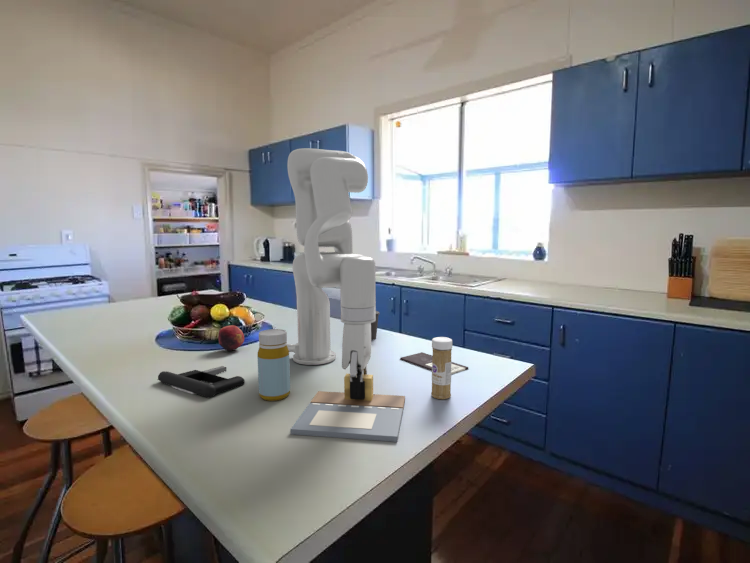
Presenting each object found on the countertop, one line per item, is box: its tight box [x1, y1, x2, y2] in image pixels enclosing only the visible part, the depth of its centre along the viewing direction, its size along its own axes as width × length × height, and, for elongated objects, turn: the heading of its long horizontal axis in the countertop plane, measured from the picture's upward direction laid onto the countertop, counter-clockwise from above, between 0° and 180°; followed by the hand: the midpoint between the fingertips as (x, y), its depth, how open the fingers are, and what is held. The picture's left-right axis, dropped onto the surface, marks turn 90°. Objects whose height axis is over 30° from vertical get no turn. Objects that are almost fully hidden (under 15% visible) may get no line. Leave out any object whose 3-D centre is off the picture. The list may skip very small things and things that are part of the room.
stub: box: [309, 373, 406, 409], centre depth 90 cm, size 20×6×6 cm, turn 81°
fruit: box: [218, 324, 245, 352], centre depth 131 cm, size 8×8×8 cm
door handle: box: [157, 365, 246, 398], centre depth 104 cm, size 3×20×16 cm
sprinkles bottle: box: [430, 336, 453, 400], centre depth 93 cm, size 5×5×14 cm
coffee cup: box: [371, 310, 381, 341], centre depth 145 cm, size 8×8×10 cm
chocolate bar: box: [400, 352, 469, 375], centre depth 117 cm, size 9×1×18 cm
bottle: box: [257, 328, 291, 402], centre depth 94 cm, size 7×7×15 cm
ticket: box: [289, 402, 404, 443], centre depth 81 cm, size 20×12×1 cm, turn 81°
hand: (358, 395), depth 90 cm, fingers closed on stub, 2 cm apart
